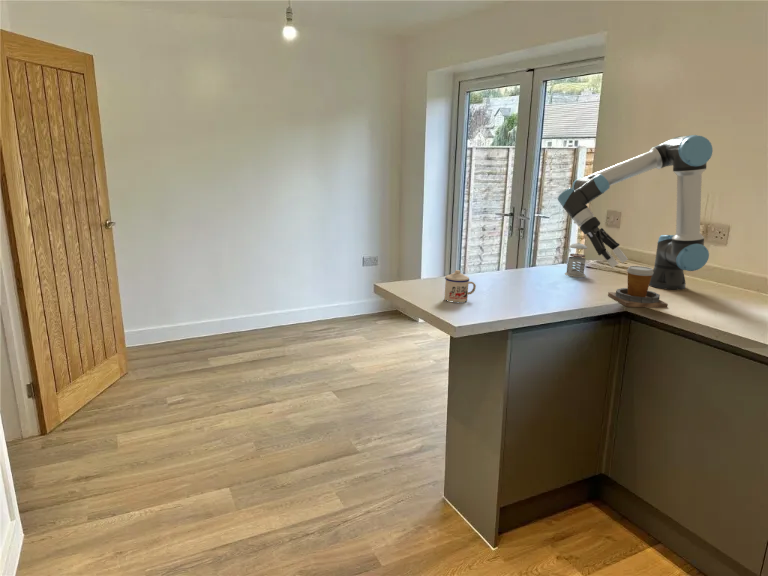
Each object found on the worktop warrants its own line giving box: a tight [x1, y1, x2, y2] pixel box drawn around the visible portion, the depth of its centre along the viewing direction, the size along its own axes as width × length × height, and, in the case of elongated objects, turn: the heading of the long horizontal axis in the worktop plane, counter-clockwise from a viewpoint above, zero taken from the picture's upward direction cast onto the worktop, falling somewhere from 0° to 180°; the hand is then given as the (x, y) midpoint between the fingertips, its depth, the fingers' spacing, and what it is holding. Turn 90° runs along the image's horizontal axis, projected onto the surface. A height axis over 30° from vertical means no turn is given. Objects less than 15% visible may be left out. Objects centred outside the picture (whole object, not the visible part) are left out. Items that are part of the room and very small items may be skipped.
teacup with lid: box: [444, 269, 477, 303], centre depth 203 cm, size 12×9×12 cm
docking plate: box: [607, 287, 669, 309], centre depth 211 cm, size 16×16×4 cm
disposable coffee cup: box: [626, 265, 654, 297], centre depth 209 cm, size 10×10×12 cm
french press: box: [562, 228, 588, 278], centre depth 255 cm, size 10×12×25 cm
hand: (620, 263), depth 212 cm, fingers open, 13 cm apart
